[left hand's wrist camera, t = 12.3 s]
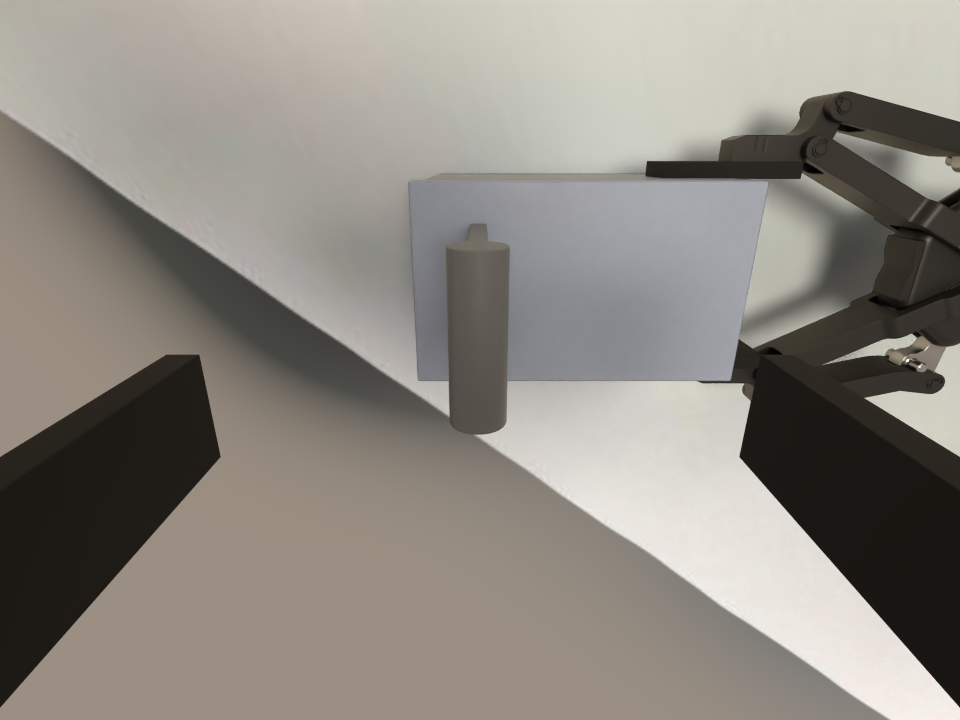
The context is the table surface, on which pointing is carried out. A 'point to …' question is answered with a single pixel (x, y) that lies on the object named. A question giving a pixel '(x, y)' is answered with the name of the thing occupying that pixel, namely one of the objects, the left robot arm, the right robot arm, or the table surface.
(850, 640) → the table surface
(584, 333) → the lid
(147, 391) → the left robot arm
